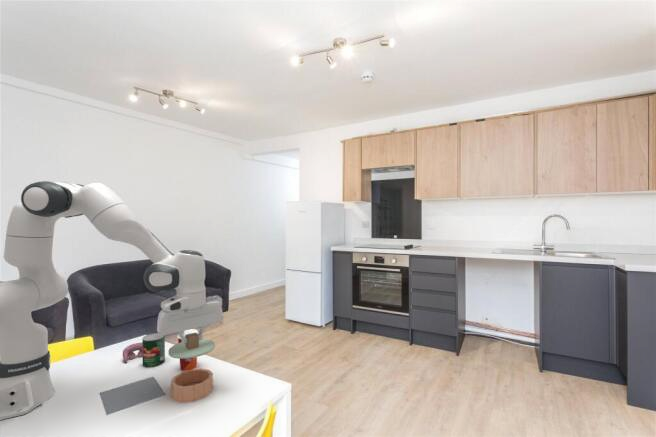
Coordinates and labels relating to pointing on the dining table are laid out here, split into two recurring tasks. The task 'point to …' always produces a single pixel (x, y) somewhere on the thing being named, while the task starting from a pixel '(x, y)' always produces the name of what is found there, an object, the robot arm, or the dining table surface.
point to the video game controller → (132, 351)
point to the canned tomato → (153, 350)
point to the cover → (191, 347)
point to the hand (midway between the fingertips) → (192, 341)
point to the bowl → (191, 385)
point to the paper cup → (189, 362)
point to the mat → (130, 395)
